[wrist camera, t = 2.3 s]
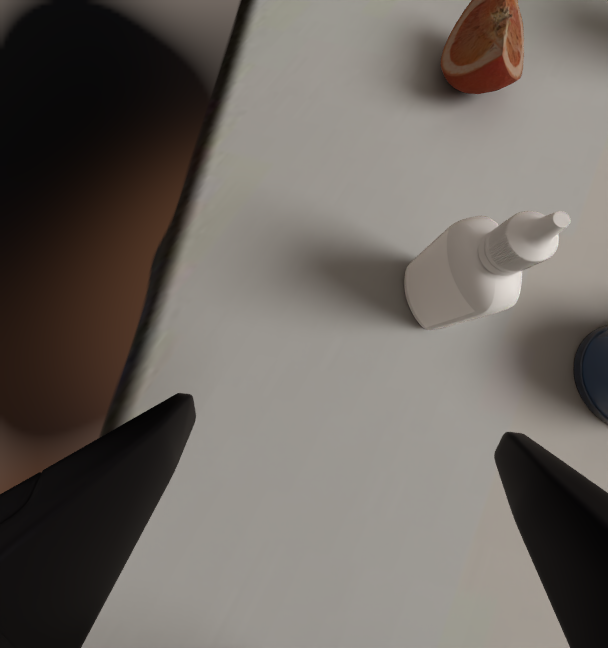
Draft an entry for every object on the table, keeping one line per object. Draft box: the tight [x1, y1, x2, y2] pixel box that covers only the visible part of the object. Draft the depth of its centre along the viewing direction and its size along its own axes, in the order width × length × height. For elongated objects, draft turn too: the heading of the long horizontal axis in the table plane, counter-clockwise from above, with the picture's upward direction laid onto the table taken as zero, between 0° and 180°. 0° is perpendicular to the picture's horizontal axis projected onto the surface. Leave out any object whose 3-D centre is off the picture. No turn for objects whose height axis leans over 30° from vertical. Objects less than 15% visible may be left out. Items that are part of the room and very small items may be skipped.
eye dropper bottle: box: [404, 211, 571, 330], centre depth 17 cm, size 4×6×12 cm
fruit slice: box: [441, 0, 524, 94], centre depth 24 cm, size 8×7×5 cm
